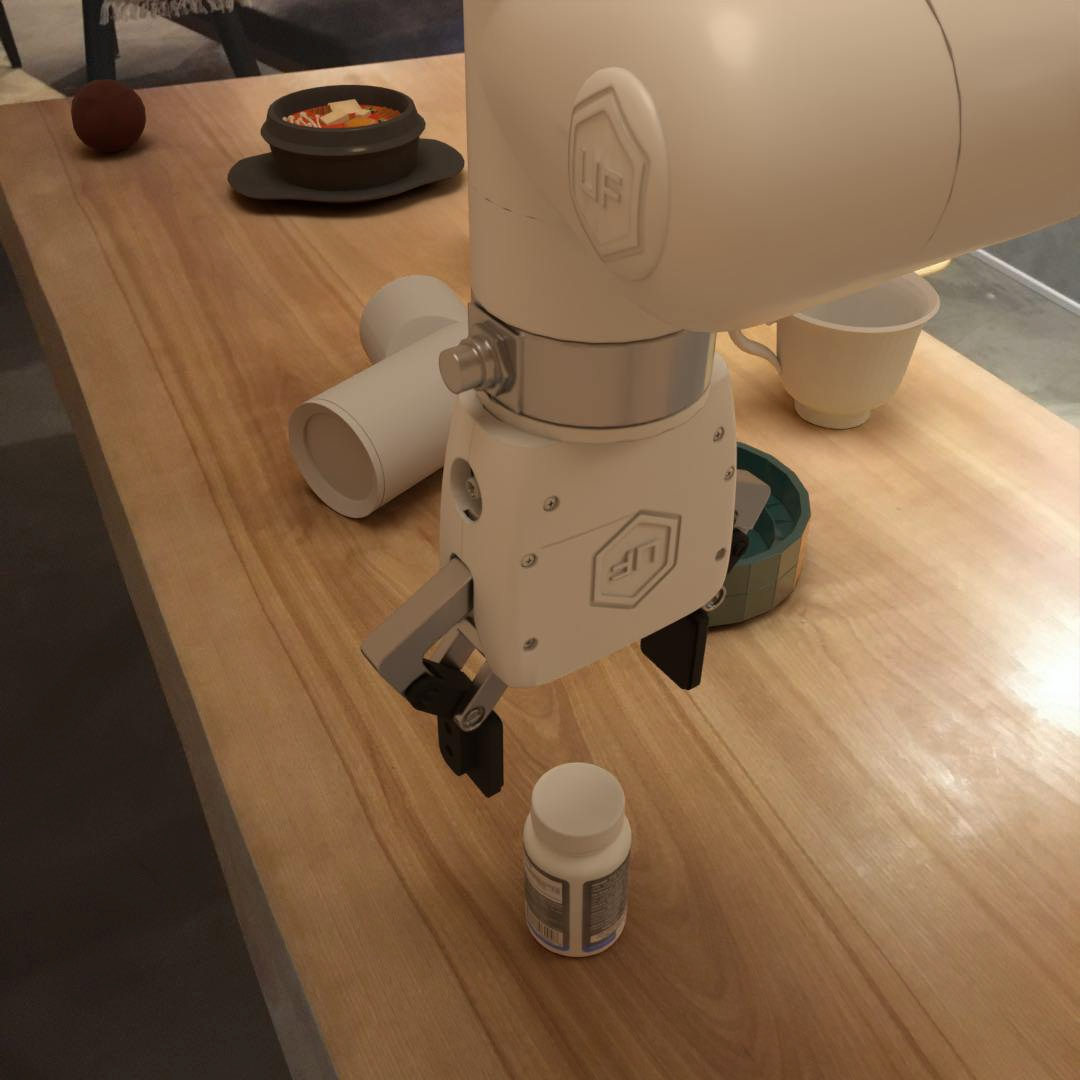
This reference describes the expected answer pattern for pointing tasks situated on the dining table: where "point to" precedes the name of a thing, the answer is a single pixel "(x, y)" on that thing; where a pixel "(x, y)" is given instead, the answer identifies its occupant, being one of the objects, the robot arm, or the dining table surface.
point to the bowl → (767, 543)
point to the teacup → (848, 350)
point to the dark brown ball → (108, 115)
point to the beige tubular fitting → (384, 402)
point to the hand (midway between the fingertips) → (575, 717)
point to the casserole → (343, 148)
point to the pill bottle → (576, 860)
